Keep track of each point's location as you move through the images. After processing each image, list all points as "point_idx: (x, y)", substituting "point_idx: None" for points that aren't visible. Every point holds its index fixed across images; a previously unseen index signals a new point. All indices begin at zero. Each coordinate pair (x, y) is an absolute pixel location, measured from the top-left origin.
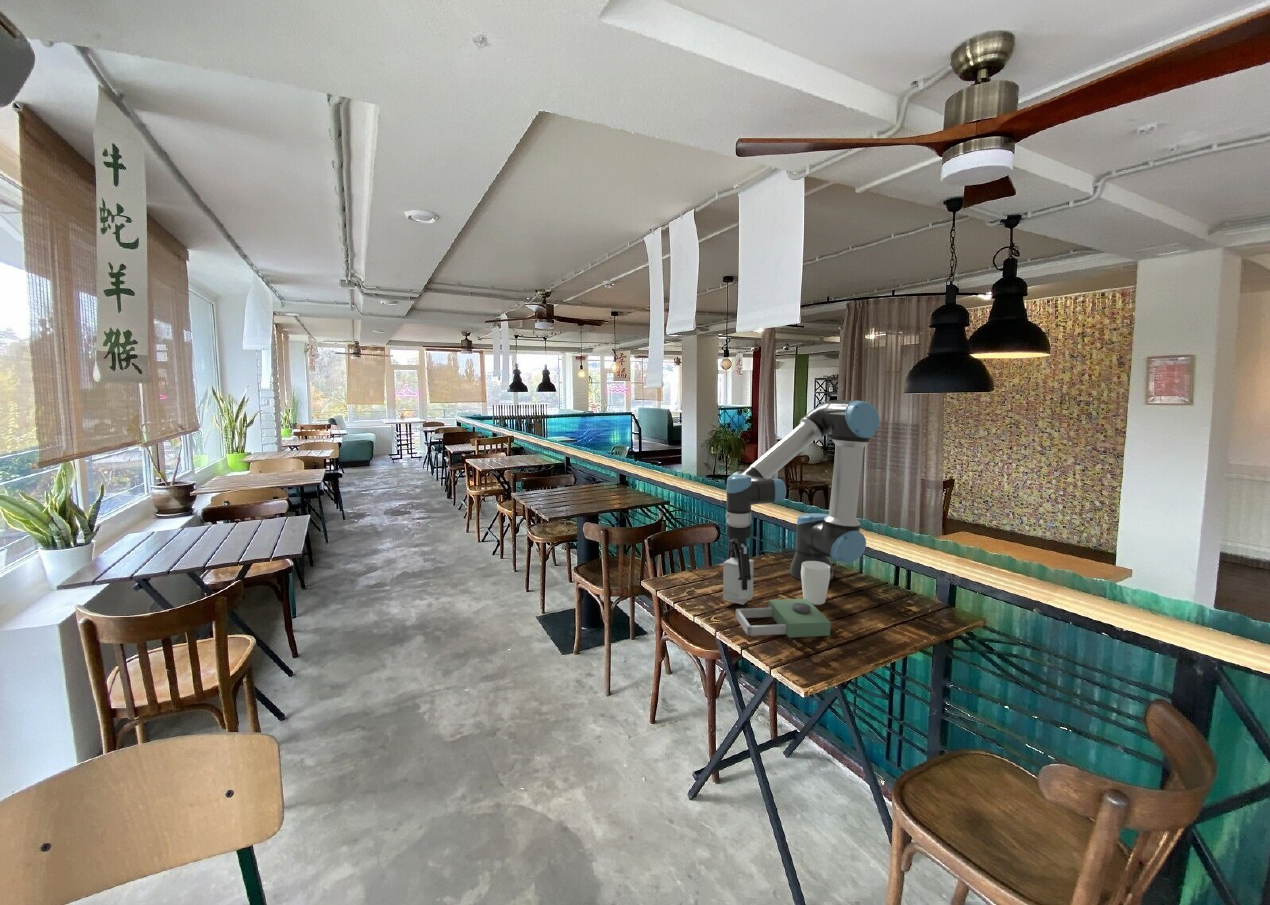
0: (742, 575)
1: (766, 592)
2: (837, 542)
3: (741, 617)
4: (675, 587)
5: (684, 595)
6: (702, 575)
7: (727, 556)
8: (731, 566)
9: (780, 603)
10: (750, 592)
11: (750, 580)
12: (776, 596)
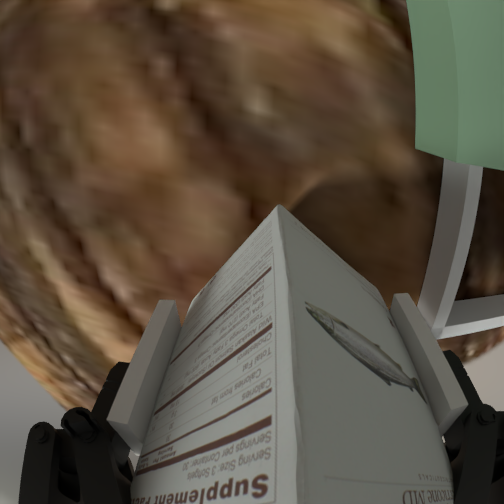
0: (497, 464)
1: (120, 68)
2: None
3: (489, 328)
4: None
5: None
6: (12, 325)
7: (61, 485)
8: None
9: (502, 113)
10: (322, 253)
11: (352, 325)
12: (183, 18)
